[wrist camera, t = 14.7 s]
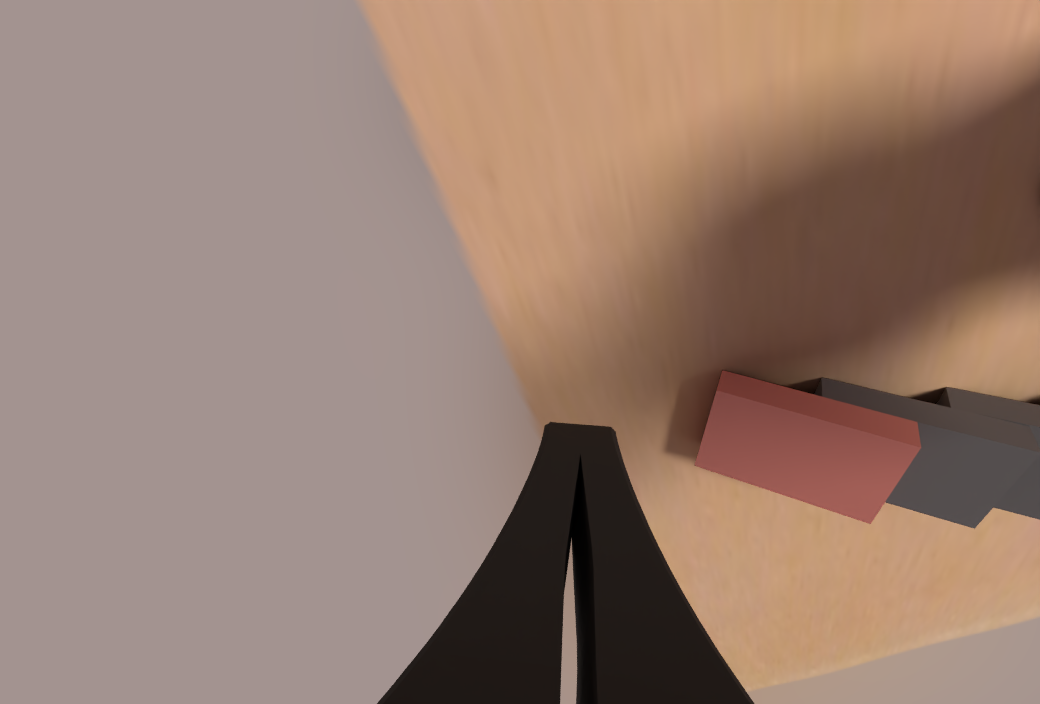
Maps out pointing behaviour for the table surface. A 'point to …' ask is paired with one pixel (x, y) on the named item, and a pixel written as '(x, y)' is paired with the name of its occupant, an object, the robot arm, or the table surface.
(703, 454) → the red domino
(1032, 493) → the domino
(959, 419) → the domino
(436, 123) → the table surface
